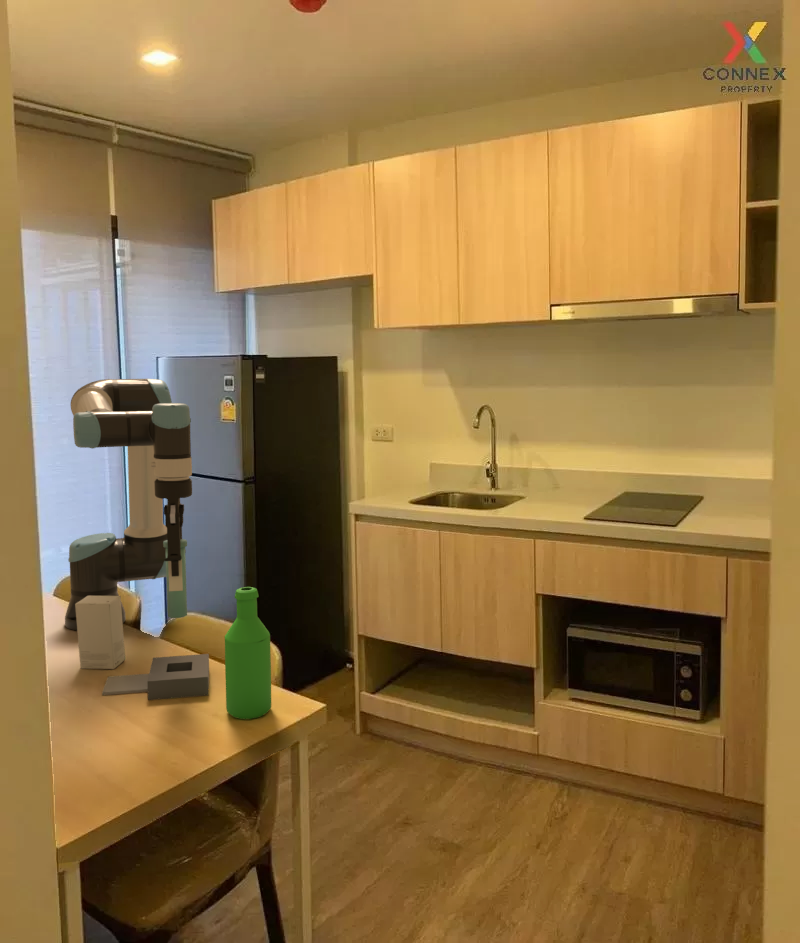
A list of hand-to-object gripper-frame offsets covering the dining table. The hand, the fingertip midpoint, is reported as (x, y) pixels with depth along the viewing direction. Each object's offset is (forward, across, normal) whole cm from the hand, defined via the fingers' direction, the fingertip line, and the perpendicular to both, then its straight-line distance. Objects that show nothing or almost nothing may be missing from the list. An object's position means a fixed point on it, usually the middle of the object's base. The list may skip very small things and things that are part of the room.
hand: (176, 587), depth 173 cm
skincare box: (+22, -16, -18) cm, 32 cm away
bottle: (+22, +17, +14) cm, 31 cm away
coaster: (+22, -2, -11) cm, 24 cm away
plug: (+6, 0, 0) cm, 6 cm away
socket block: (+22, 0, 0) cm, 22 cm away
